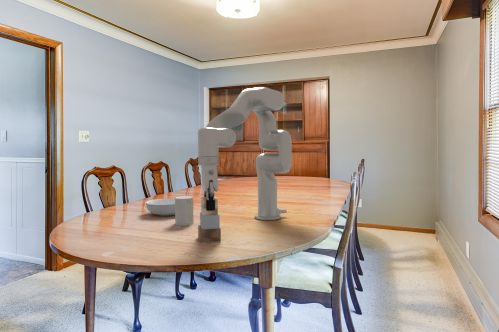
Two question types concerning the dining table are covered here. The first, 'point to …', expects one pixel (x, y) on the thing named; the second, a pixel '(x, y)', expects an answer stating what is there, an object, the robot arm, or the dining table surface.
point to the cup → (184, 210)
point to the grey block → (209, 221)
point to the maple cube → (203, 207)
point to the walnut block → (209, 235)
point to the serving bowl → (161, 206)
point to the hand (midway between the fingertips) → (209, 208)
